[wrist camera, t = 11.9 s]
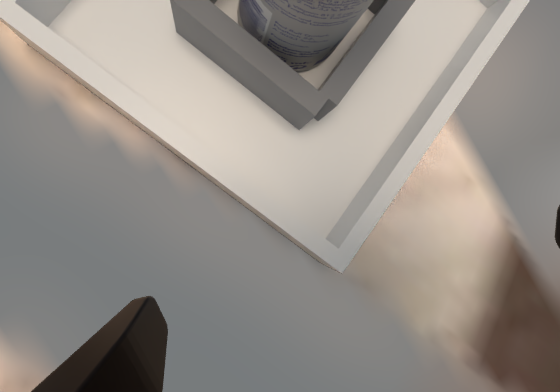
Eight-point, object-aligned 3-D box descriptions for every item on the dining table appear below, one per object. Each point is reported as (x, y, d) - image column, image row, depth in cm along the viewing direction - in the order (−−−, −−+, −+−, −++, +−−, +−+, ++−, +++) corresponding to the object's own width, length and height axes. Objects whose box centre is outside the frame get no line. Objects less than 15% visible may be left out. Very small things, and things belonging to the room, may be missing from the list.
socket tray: (319, 262, 20) (346, 275, 16) (26, 43, 18) (-27, -4, 14) (491, 16, 23) (550, -25, 19) (252, -205, 20) (262, -305, 16)
